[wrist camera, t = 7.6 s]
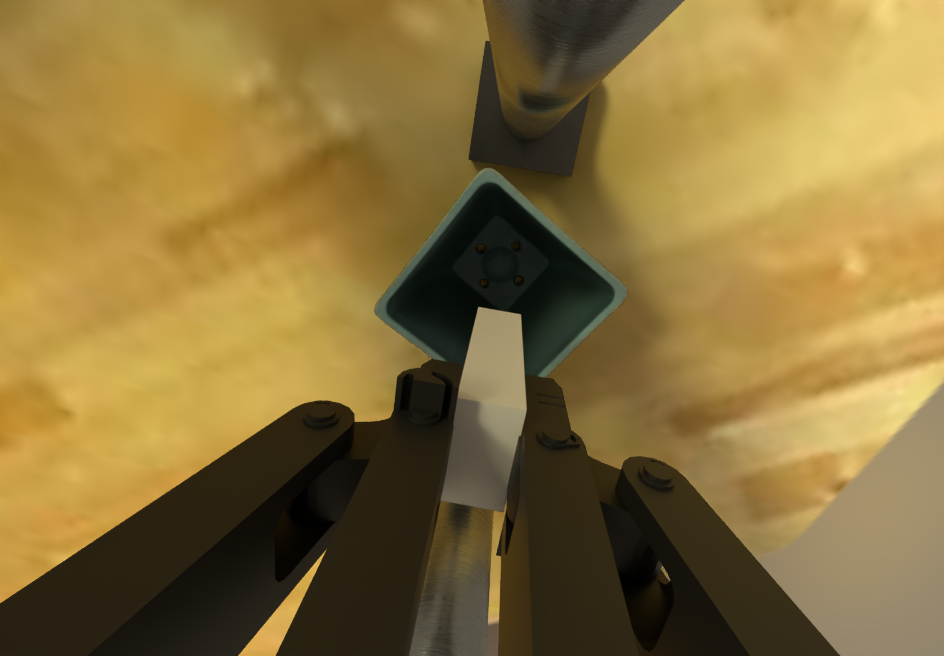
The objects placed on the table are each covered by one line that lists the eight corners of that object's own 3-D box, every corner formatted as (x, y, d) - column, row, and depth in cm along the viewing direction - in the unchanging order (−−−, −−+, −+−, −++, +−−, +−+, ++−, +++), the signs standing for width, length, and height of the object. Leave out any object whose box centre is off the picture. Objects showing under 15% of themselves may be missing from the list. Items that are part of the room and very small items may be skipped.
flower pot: (598, 256, 29) (634, 293, 20) (508, 351, 32) (507, 418, 23) (494, 163, 27) (486, 161, 19) (408, 271, 30) (369, 311, 22)
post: (444, 340, 32) (215, 924, 7) (528, 355, 31) (586, 1004, 7) (433, 413, 34) (227, 1061, 9) (512, 428, 34) (514, 1125, 9)
